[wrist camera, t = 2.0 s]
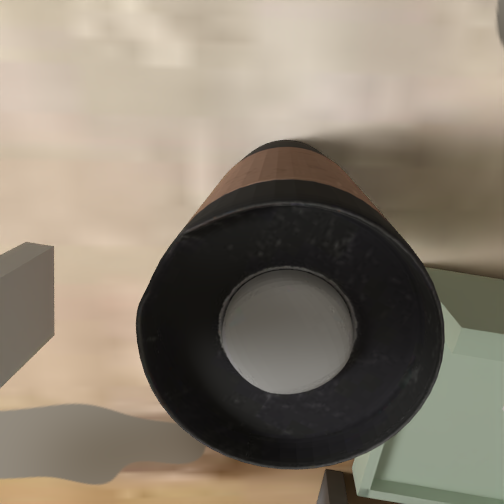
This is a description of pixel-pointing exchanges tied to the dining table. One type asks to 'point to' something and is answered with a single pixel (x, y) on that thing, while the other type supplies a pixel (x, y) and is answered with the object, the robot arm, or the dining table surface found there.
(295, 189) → the travel mug
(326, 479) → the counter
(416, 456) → the tray
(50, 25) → the dining table surface
